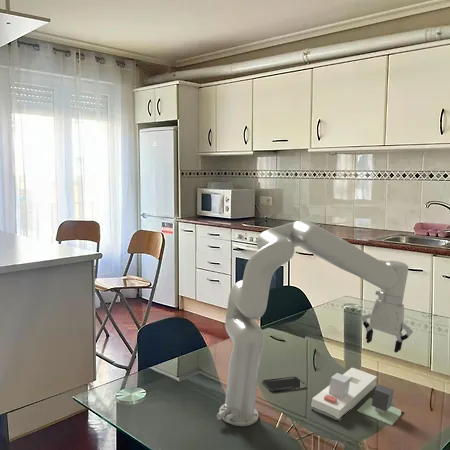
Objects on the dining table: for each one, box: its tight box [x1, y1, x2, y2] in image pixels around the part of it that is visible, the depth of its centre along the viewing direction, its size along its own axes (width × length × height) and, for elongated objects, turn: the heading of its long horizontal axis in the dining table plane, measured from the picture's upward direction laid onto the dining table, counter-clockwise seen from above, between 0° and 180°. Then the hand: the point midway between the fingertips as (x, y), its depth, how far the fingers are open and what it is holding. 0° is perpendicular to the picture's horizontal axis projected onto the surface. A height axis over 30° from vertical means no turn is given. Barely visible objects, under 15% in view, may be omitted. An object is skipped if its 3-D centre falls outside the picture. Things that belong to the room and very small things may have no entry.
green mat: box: [356, 397, 402, 426], centre depth 172 cm, size 12×12×1 cm
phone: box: [261, 376, 305, 394], centre depth 184 cm, size 8×1×15 cm
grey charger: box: [329, 372, 350, 399], centre depth 173 cm, size 5×5×8 cm
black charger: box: [372, 383, 394, 414], centre depth 172 cm, size 5×5×8 cm
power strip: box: [310, 367, 378, 419], centre depth 179 cm, size 34×10×5 cm, turn 144°
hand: (382, 346), depth 170 cm, fingers open, 9 cm apart
